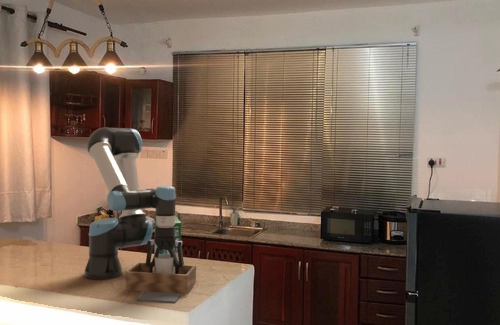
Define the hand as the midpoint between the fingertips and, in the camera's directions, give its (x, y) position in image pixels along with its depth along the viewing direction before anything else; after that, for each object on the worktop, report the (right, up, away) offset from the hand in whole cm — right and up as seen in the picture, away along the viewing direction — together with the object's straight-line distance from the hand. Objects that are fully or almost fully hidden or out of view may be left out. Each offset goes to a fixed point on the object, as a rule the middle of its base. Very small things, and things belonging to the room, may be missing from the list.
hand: (164, 283), depth 174 cm
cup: (0, -1, 0) cm, 1 cm away
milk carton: (-2, -1, +17) cm, 18 cm away
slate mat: (+1, -2, -13) cm, 13 cm away
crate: (-1, -1, 0) cm, 2 cm away
